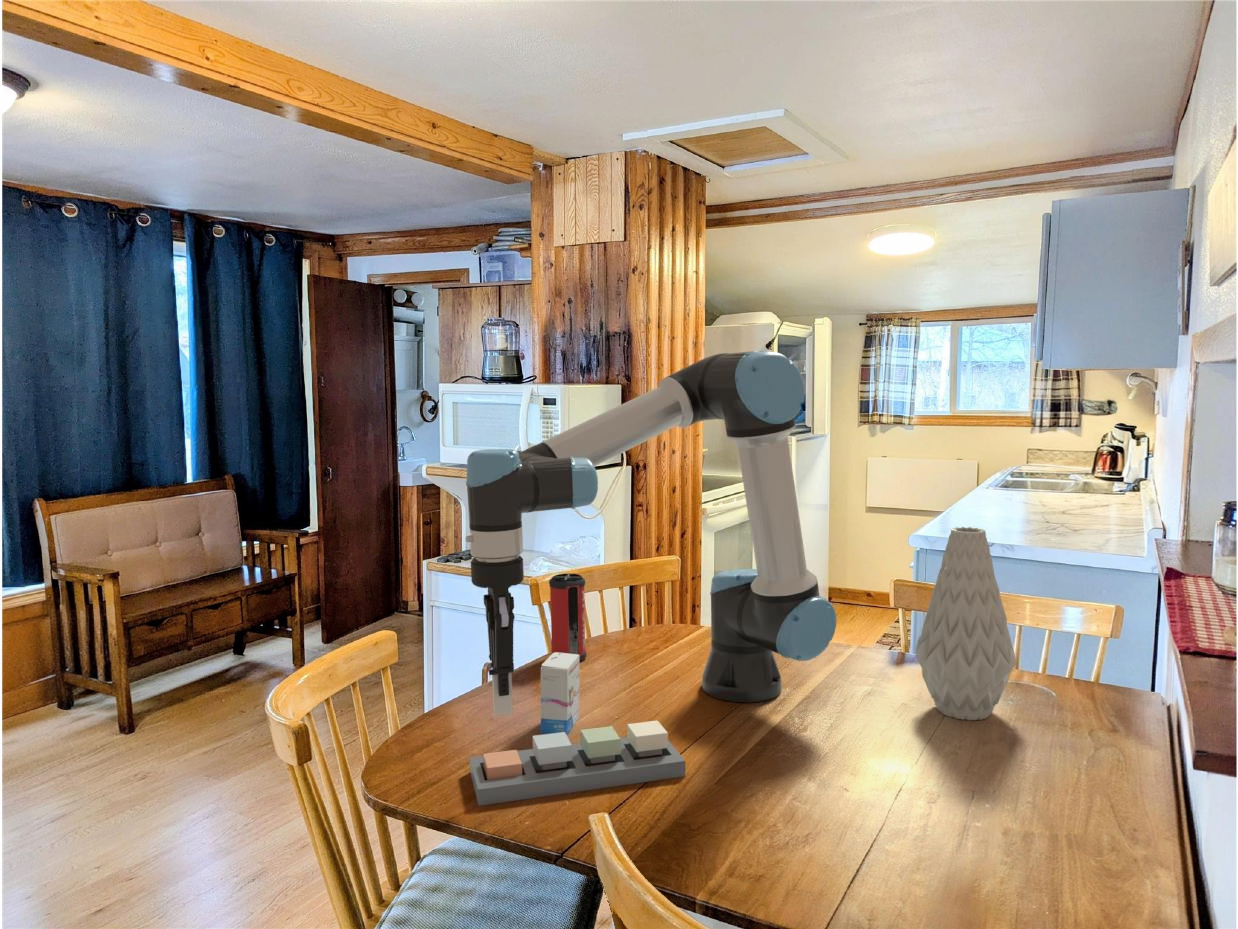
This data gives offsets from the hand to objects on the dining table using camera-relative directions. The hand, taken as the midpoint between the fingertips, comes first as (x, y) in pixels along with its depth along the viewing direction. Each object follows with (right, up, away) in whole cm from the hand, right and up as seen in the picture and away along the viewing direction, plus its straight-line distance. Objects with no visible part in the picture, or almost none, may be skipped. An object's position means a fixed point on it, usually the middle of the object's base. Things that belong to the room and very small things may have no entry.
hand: (503, 713), depth 127 cm
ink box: (+7, -9, +23) cm, 25 cm away
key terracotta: (0, -10, +1) cm, 10 cm away
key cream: (+21, -8, +7) cm, 24 cm away
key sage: (+14, -8, +5) cm, 17 cm away
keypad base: (+11, -10, +4) cm, 15 cm away
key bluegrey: (+7, -8, +3) cm, 11 cm away
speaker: (+6, -5, +59) cm, 59 cm away
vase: (+78, -7, +27) cm, 83 cm away
